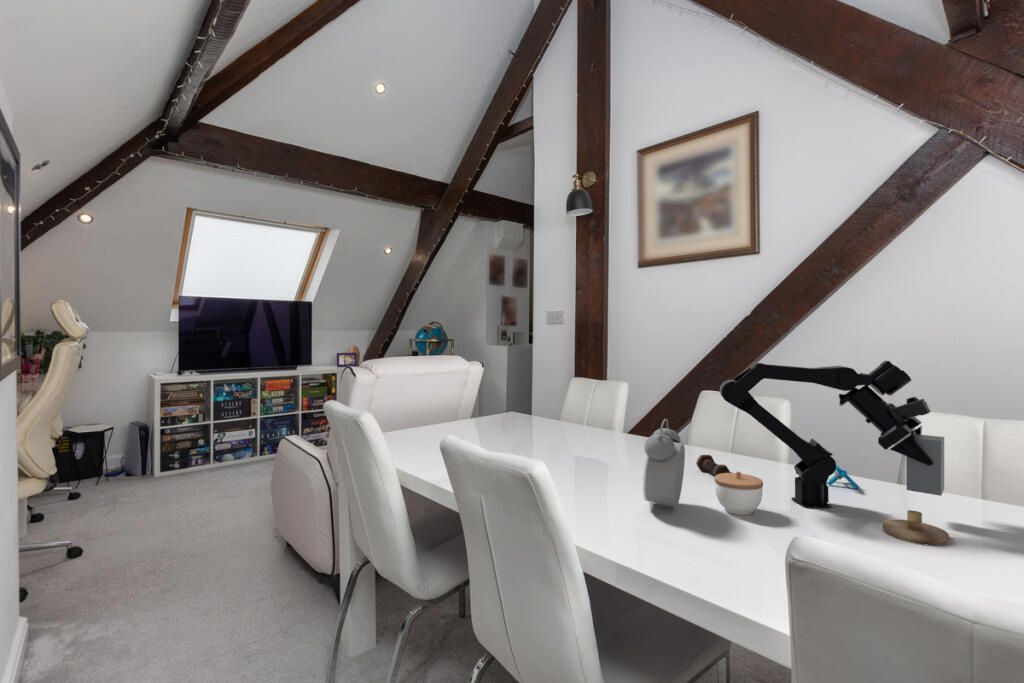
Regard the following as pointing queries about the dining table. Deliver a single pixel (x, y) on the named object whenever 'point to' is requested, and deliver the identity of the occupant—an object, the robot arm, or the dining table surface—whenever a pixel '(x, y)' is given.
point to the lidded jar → (738, 492)
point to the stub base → (915, 530)
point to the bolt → (711, 465)
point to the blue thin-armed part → (839, 475)
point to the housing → (927, 467)
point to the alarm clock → (663, 467)
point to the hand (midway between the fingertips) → (933, 461)
